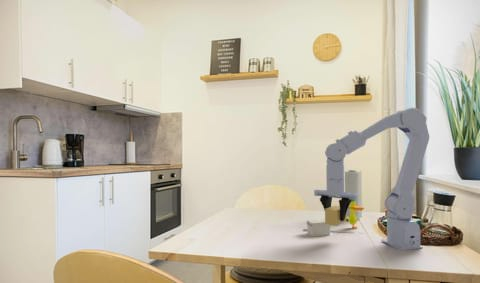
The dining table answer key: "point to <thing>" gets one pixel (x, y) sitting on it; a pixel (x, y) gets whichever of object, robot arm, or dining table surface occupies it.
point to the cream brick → (318, 227)
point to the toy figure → (353, 213)
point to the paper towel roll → (354, 190)
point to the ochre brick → (333, 216)
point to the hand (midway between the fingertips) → (335, 219)
